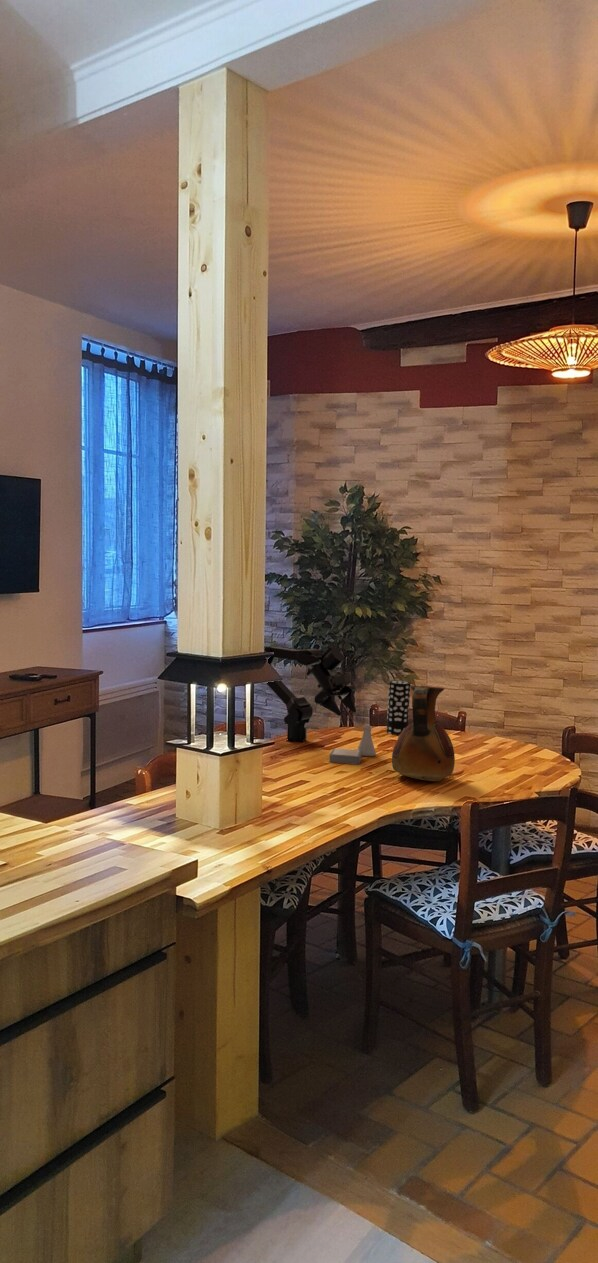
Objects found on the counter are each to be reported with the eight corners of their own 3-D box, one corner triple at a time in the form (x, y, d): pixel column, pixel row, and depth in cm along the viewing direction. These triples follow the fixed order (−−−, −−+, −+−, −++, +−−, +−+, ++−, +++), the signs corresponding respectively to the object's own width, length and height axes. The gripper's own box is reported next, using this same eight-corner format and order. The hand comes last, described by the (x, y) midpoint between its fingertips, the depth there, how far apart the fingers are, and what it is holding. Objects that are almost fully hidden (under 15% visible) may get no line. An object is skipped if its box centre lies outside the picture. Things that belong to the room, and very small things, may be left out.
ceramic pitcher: (456, 774, 300) (462, 683, 297) (449, 790, 280) (455, 692, 278) (396, 768, 305) (401, 678, 302) (385, 782, 286) (391, 686, 283)
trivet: (329, 762, 309) (329, 754, 309) (332, 755, 319) (333, 747, 319) (359, 764, 308) (359, 756, 308) (361, 757, 318) (362, 750, 318)
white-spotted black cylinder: (396, 729, 370) (399, 680, 368) (412, 733, 364) (414, 683, 362) (382, 731, 365) (384, 681, 363) (397, 735, 358) (400, 684, 357)
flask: (376, 757, 320) (378, 729, 319) (355, 756, 320) (357, 728, 319) (375, 752, 327) (377, 725, 326) (355, 751, 327) (356, 724, 326)
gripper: (323, 666, 321) (347, 703, 316) (353, 662, 336) (376, 697, 330) (303, 685, 327) (327, 721, 321) (334, 681, 342) (357, 715, 336)
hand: (347, 713), depth 327 cm, fingers open, 9 cm apart
